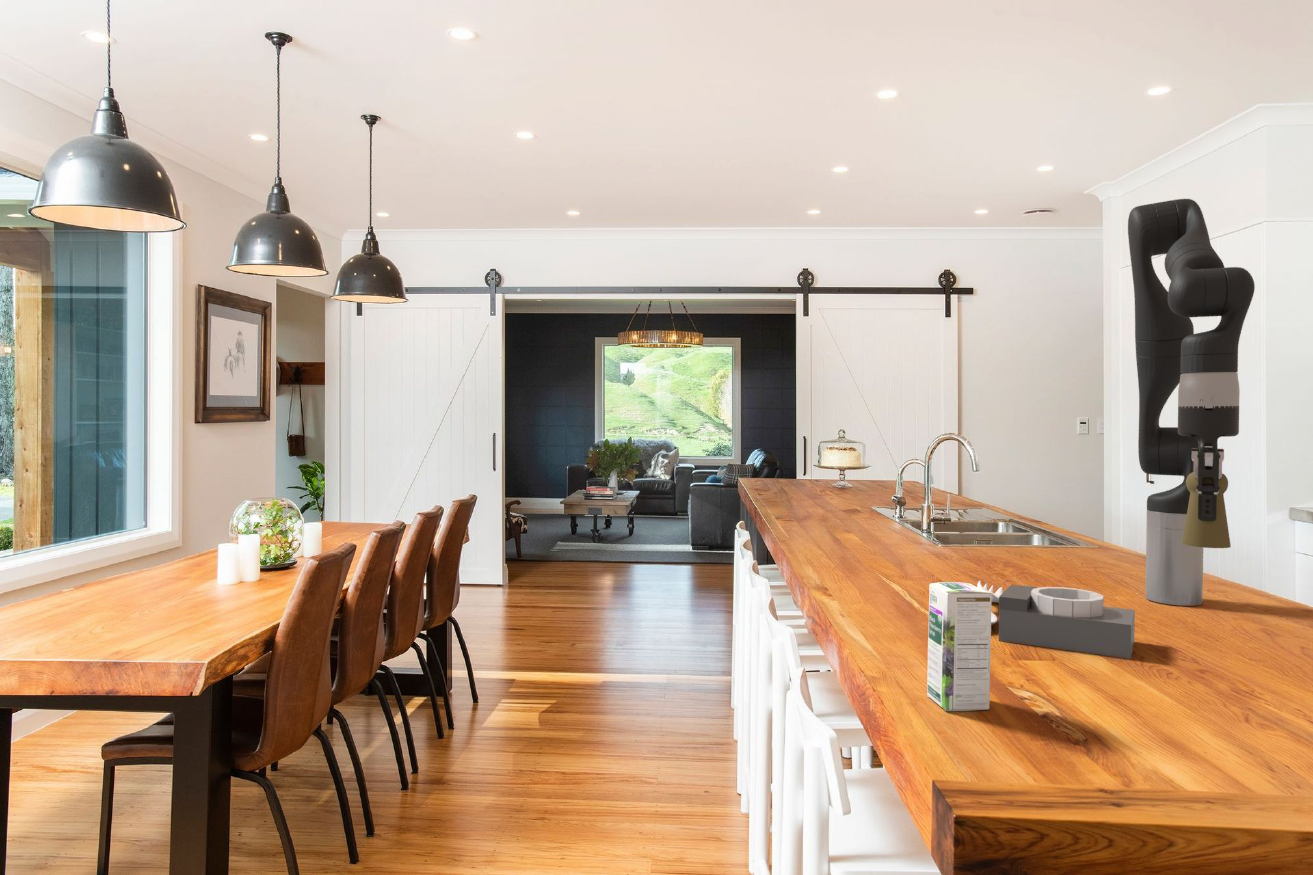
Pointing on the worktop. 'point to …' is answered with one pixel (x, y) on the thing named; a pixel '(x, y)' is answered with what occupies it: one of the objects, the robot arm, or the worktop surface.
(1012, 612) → the camera body
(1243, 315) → the robot arm
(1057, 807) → the worktop surface
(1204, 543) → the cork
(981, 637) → the syrup box
